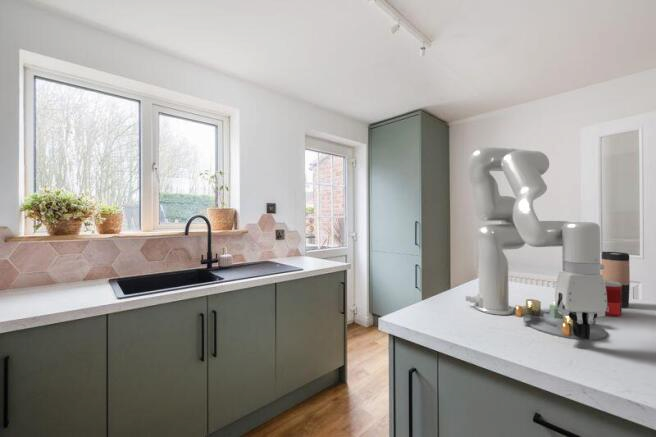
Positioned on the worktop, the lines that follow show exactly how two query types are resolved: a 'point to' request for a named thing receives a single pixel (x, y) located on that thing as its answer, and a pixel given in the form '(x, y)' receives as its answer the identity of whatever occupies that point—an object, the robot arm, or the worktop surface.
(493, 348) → the worktop surface
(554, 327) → the tribrach
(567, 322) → the knob
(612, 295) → the canned food
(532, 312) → the knob
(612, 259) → the travel mug
